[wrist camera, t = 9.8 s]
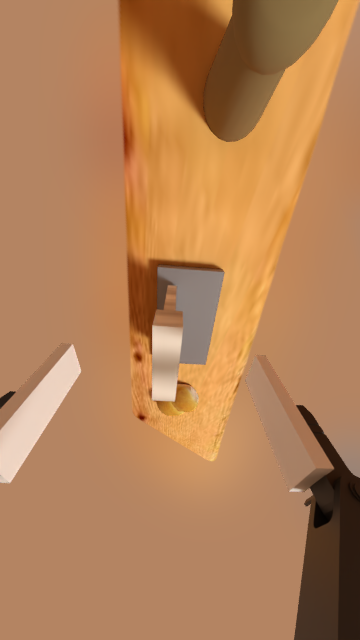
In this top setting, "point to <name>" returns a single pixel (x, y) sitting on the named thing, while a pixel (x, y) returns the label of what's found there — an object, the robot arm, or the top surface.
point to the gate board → (192, 306)
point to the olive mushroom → (258, 59)
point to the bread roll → (180, 401)
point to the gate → (166, 348)
